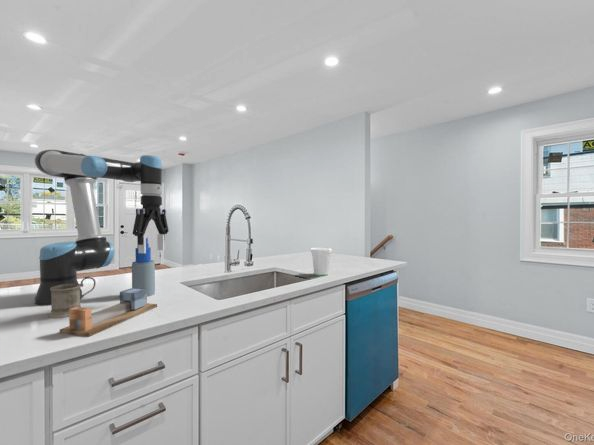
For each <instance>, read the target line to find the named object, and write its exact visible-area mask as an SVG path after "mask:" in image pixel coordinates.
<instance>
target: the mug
mask: <svg viewBox="0 0 594 445" xmlns="http://www.w3.org/2000/svg"><path fill="white" fill-rule="evenodd" d="M88 279H89V280H92V281H93V287H92V288H91V289H90V290H89V291H86V292H85V293H82V296H81V297H80V288H83V287H84V281H85V280H88ZM95 288H96V280H95V278H94V277H90V276H89V275H86V276H83V278H82V280H81V281H80V283H79V284H64V285H58V286H54V287H51V288H50V290H51V304H50V305H51V311H50V313H49V314H48V316H47V317H48V318H49V319H64V318H69V309H71V308H74V307H80V308H82V307H81V301H82V300H83V298H84V296H86V295H87V294H89V293H91V292H92V291H93V290H94V289H95Z"/></svg>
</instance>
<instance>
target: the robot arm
mask: <svg viewBox="0 0 594 445" xmlns="http://www.w3.org/2000/svg"><path fill="white" fill-rule="evenodd" d="M34 163H35V166H36V168H37V169H38V170H39V171H40V172H41V173H43V174H45V175H48V176H50V177H55V178H56V177H57V178H63V179H64V183H65V185H67V186H69V190H70V196H71V201H72V202H71V203H72V207H73V212H74V213H73V214H74V218H75V225H76V230H77V236H78V238H77V239H76V240H75V241H64V242H55V243H50V244H47V245H44V246H42V247H41V248H40V250H39V257H38V259H39V274H40V275H39V276H40V279H39V280H40V282H39V286H38V287H37V291H36V294H35V296H34V304H36V305H41V306H44V305H45V306H47V305H51V290H50V288H51V287H54V286H58V285H64V284H80V283H79V281H78V279H77V278H78V277H77V274H78V273H77V272H80V271H86V270H87V271H88V270H93V269H94V270H95V269H101V268H104V267H108V266H109V265H111V263H112V262H113V260H114V257H115V247H114V245H113V243H111V242H110V241H107V237H106V236H105V235H103V234H102V231H101V224H100V220H99V214H98V209H97V208H98V207H97V203H96V197H95V193H94V192H95V191H94V186H93V185H94V184H95V183H96V181H97V180H98V178H99V179H110V180H118V181H123V182H124V183H125V182H127V183H134V182H140V195H141V196H140V205H141V206H142V207H141V208H136V209H135V219H134V223H133V229H132V235H133V236H134V237H137V238H136V239H137V241H136V243H137V244H138V253H146V238H147V236H146V235H145V233H146V230H147V228H148V226H149V223H150V221H151V220H152V221H153V222H154V224H155V227H156V229H157V232H158V233H157V235H156V238H157V239H156V241H157V242H156V243H157V251H165V241H166V236H165V235H167V234H168V232H169V226H168V221H167V215H166V213H167V210H166V209H165V208H164V209H162V208H160V206H162V205H163V199H162V198H163V197H162V196H161V195H162V190H163V189H162V186H163V185H162V179H163V175H162V172H163V171H162V168H163V167H162V158H161V157H159V156H156V155H148V154H147V155H146V154H143V155H141V156H140V159H139V162H130V161H123V160H118V159H112V158H107V157H103V156H102V157H101V156H97V155H86V154H83V153H78V152H77V153H75V152H70V151H64V150H58V149H45V150H41V151H40V152H38V153H37V154H36V156H35V158H34ZM81 288H82V287H80V297H81V296H82V295H83V290H82V289H81Z"/></svg>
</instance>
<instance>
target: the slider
mask: <svg viewBox="0 0 594 445" xmlns="http://www.w3.org/2000/svg"><path fill="white" fill-rule="evenodd" d="M125 301H131V309H133V310H135V309H138V308H140V307H143V306H145V289H132V287H130V288H127V289H124V290H121V291H119V303H122V302H125Z"/></svg>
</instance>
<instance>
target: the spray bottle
mask: <svg viewBox="0 0 594 445" xmlns="http://www.w3.org/2000/svg"><path fill="white" fill-rule="evenodd" d="M151 248H152V247H151V246H150V245H149V239H148V237H146V253H138V244H137V246H136V247H135V250H134V251H135V261H133V262H132V263H131V288H132V289H145V294H147V298H148V297H151V296H155V294H156V279H155V278H156V271H155V270H156V268H155V267H156V263H155V260H152V255H151V254H152V249H151Z"/></svg>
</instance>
